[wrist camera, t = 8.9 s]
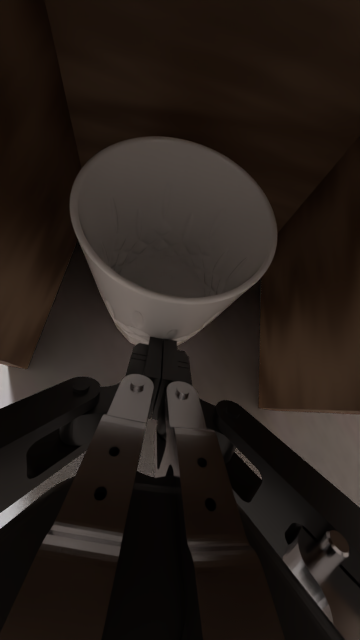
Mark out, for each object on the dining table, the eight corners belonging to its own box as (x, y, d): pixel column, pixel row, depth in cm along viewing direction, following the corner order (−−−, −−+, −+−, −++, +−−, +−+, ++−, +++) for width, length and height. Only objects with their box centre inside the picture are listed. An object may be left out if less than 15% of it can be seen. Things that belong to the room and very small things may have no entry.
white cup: (224, 316, 19) (313, 230, 10) (151, 383, 16) (176, 353, 7) (161, 249, 20) (185, 115, 11) (81, 301, 17) (19, 178, 8)
